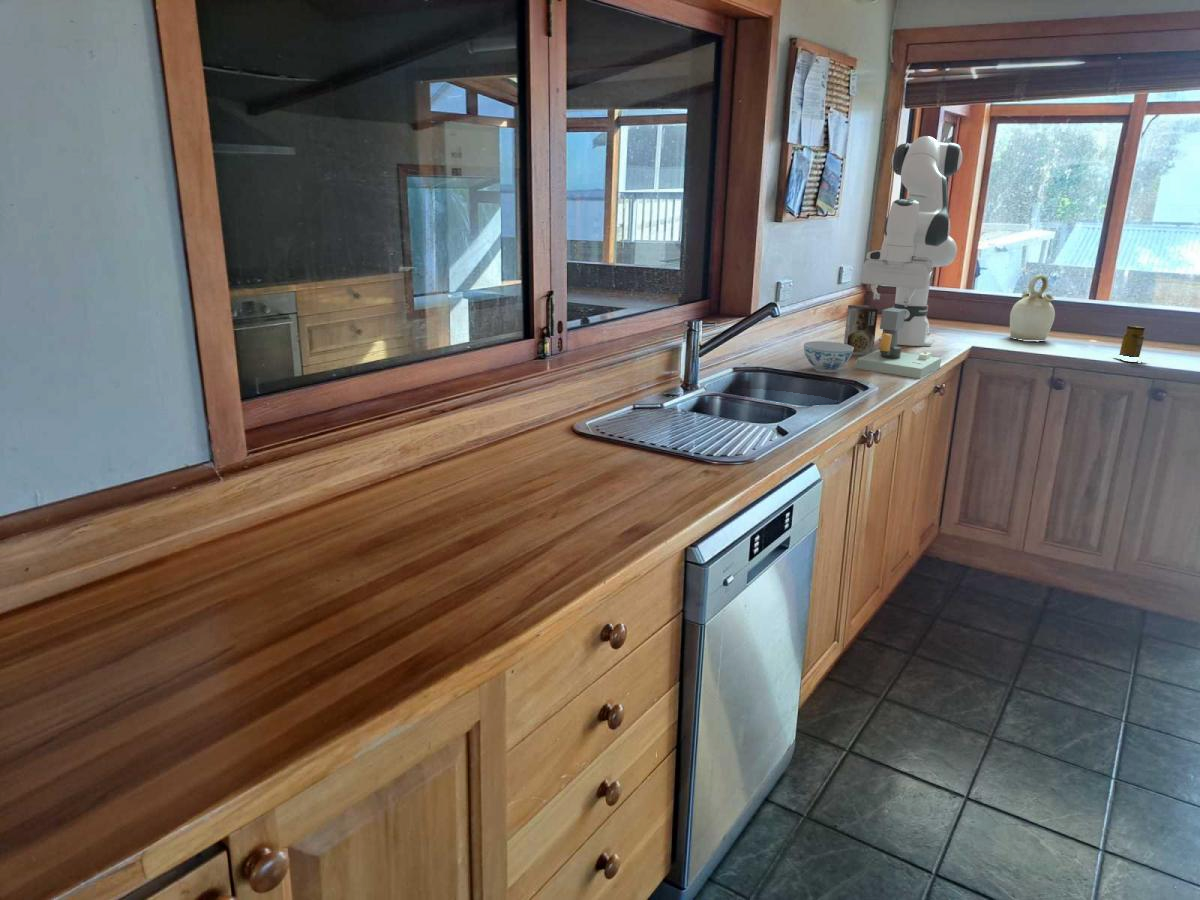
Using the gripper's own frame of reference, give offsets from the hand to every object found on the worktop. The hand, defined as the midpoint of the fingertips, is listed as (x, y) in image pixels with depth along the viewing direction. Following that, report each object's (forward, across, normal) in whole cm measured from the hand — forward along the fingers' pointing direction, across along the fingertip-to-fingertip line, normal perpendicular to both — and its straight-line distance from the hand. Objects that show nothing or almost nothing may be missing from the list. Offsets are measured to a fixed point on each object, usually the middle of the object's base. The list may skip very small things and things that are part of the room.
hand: (891, 301), depth 261 cm
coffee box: (+22, +15, -20) cm, 33 cm away
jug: (+21, -25, -99) cm, 104 cm away
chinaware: (+22, +13, +14) cm, 29 cm away
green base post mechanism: (+21, -3, -7) cm, 23 cm away
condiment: (+21, -61, -80) cm, 103 cm away
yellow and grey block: (+18, 0, -5) cm, 19 cm away
